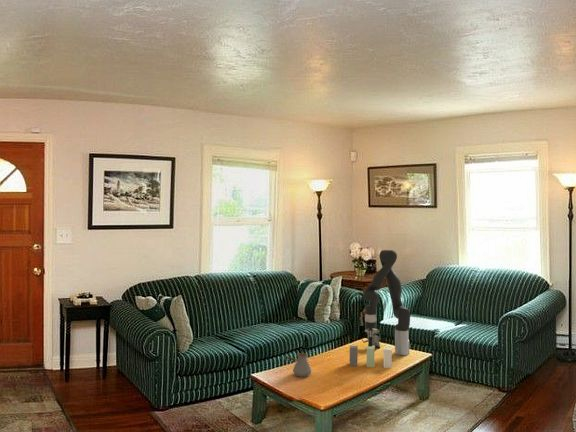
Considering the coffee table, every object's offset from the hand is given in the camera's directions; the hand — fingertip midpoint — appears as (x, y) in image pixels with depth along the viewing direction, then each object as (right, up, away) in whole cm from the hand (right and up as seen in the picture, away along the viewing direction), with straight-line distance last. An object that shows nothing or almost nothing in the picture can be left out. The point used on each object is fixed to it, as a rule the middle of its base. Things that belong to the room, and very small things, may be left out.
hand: (370, 345), depth 341 cm
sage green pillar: (-1, -11, -10) cm, 14 cm away
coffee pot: (-50, -12, -31) cm, 60 cm away
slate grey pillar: (-12, -11, -8) cm, 18 cm away
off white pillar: (+9, -11, -11) cm, 18 cm away
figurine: (+6, -9, +28) cm, 30 cm away
